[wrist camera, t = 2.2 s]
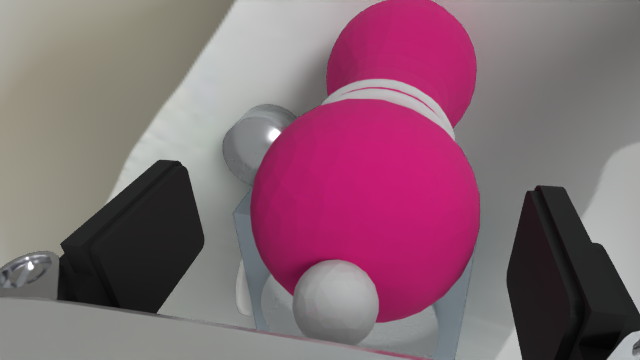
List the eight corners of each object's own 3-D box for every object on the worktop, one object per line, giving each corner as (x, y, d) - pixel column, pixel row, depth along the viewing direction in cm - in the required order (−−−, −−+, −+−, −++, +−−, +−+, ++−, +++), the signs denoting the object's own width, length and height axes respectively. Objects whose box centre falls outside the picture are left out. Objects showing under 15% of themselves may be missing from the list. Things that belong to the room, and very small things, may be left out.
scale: (472, 196, 29) (477, 253, 24) (447, 343, 37) (448, 408, 32) (249, 176, 33) (214, 222, 28) (272, 314, 41) (249, 367, 36)
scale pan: (448, 260, 26) (448, 269, 25) (430, 384, 32) (430, 394, 32) (253, 236, 29) (249, 244, 28) (274, 354, 36) (271, 362, 35)
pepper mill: (443, 125, 26) (443, 483, 9) (333, 93, 27) (155, 375, 10) (493, 5, 22) (646, 270, 5) (362, -30, 22) (141, 112, 6)
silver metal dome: (304, 105, 28) (290, 123, 25) (309, 169, 30) (297, 191, 28) (235, 102, 29) (216, 119, 26) (246, 164, 31) (229, 185, 29)
